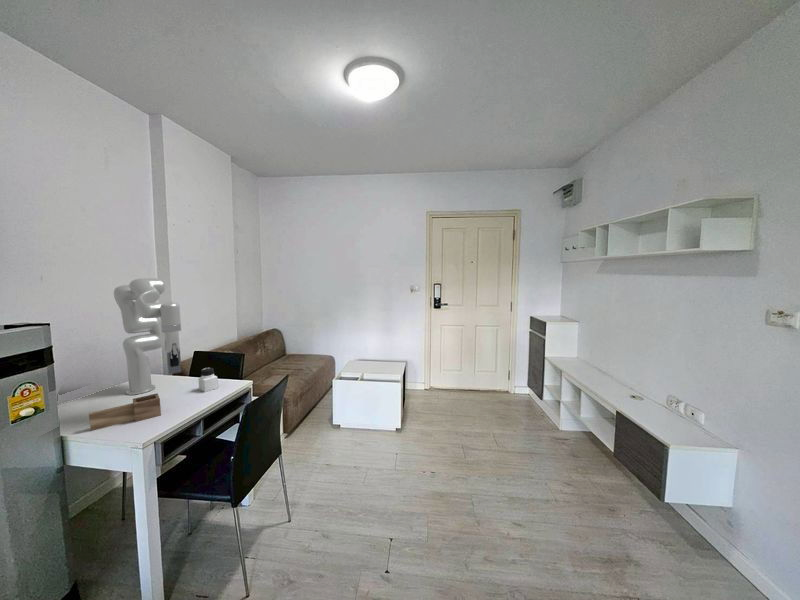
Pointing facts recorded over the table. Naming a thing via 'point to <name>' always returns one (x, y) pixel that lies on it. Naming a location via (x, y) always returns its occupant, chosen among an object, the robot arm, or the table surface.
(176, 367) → the grey upright block
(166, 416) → the table surface
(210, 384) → the medicine bottle
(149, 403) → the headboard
